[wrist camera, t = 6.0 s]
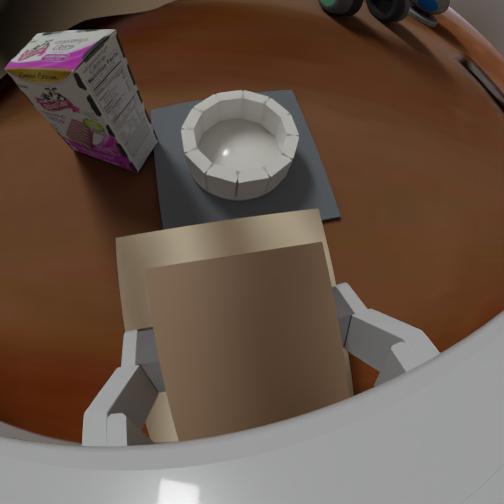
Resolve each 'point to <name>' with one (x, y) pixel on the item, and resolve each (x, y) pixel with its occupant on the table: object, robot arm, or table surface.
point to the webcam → (427, 10)
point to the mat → (217, 209)
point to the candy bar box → (87, 94)
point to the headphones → (379, 4)
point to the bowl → (239, 144)
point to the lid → (236, 322)
